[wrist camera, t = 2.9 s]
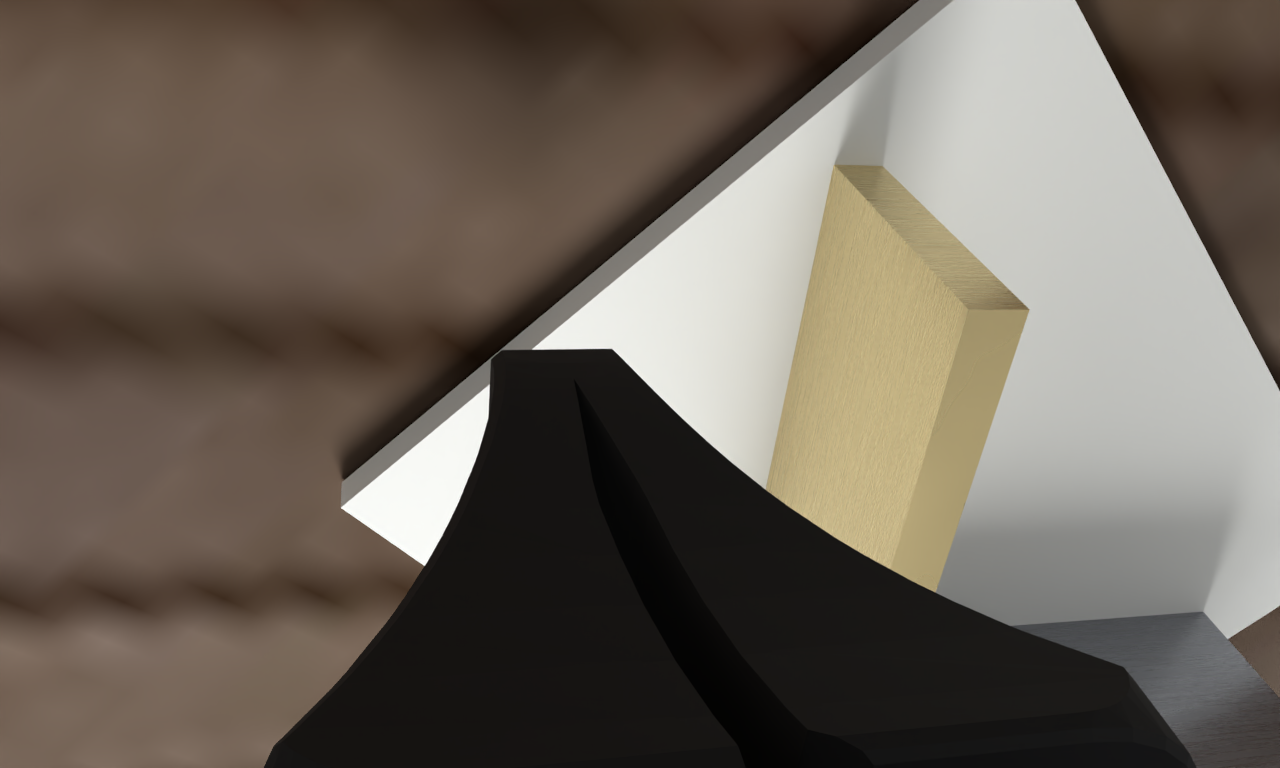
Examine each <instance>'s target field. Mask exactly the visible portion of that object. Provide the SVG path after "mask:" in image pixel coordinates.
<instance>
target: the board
mask: <svg viewBox="0 0 1280 768" xmlns="http://www.w3.org/2000/svg"><path fill="white" fill-rule="evenodd" d="M834 165H864V166H883V167H884V168H885V169H886V170H887V171H888V172H889V173H890V174H891V175H892V176H893V177H894V178H895V179H896V180H898V181H899V182H900V183H901V184H902V185H903V186H904V187H905V188H906V189H907V190H908V191H909V192H910V193H911V194H912V195H913V196H914V197H915V198H916V199H917V200H918V201H919V202H920V203H921V204H922V205H923V206H924V207H925V208H926V209H927V210H928V211H929V212H930V213H931V214H932V215H933V216H934V217H935V218H936V219H937V220H938V221H939V222H941V223H942V224H943V225H944V226H945V227H946V228H947V229H948V230H949V231H950V232H951V233H952V234H953V235H954V236H955V237H956V238H957V239H958V240H959V241H960V242H961V243H962V244H963V245H964V246H965V247H966V248H967V249H968V250H969V251H970V252H971V253H972V254H973V255H974V256H975V257H976V258H977V259H978V260H979V261H980V262H981V263H983V264H984V265H985V266H986V267H987V268H988V269H989V270H990V271H991V272H992V273H993V274H994V275H995V276H996V277H997V278H998V279H999V280H1000V281H1001V282H1002V283H1003V284H1004V285H1005V286H1006V287H1007V288H1008V289H1009V290H1010V291H1011V292H1012V293H1013V294H1014V295H1015V296H1016V297H1017V298H1018V299H1019V300H1020V301H1021V302H1022V303H1023V304H1024V305H1026V306H1027V307H1028V308H1029V309H1030V310H1029V313H1028V316H1027V319H1026V322H1025V325H1024V328H1023V331H1022V334H1021V337H1020V340H1019V343H1018V346H1017V349H1016V352H1015V355H1014V358H1013V361H1012V364H1011V367H1010V370H1009V373H1008V376H1007V379H1006V382H1005V385H1004V388H1003V391H1002V394H1001V397H1000V400H999V403H998V406H997V409H996V412H995V415H994V418H993V421H992V424H991V427H990V430H989V433H988V436H987V440H986V443H985V446H984V449H983V452H982V455H981V458H980V461H979V464H978V467H977V470H976V473H975V476H974V479H973V482H972V485H971V488H970V491H969V494H968V497H967V500H966V503H965V506H964V509H963V512H962V515H961V518H960V521H959V524H958V527H957V530H956V533H955V536H954V539H953V542H952V545H951V548H950V551H949V554H948V557H947V560H946V563H945V566H944V569H943V572H942V575H941V578H940V581H939V584H938V587H937V590H936V593H937V594H939V595H942V596H944V597H946V598H948V599H950V600H952V601H954V602H956V603H959V604H961V605H963V606H965V607H968V608H970V609H972V610H975V611H977V612H979V613H982V614H984V615H986V616H988V617H991V618H993V619H995V620H998V621H1000V622H1002V623H1004V624H1007V625H1009V626H1016V625H1029V624H1043V623H1056V622H1070V621H1083V620H1097V619H1110V618H1124V617H1137V616H1151V615H1164V614H1178V613H1191V612H1204V613H1205V614H1206V615H1207V616H1208V618H1209V619H1210V620H1211V621H1212V622H1213V623H1214V624H1215V626H1216V627H1217V628H1218V629H1219V630H1220V631H1221V632H1222V633H1223V635H1224V636H1225V637H1226V638H1227V639H1229V638H1230V637H1232V636H1233V635H1235V634H1236V633H1238V632H1240V631H1241V630H1243V629H1244V628H1246V627H1247V626H1249V625H1251V624H1252V623H1254V622H1255V621H1257V620H1258V619H1260V618H1262V617H1263V616H1265V615H1266V614H1268V613H1269V612H1271V611H1272V610H1274V609H1276V608H1277V607H1279V606H1280V391H1279V389H1278V387H1277V385H1276V383H1275V381H1274V379H1273V377H1272V375H1271V373H1270V371H1269V370H1268V368H1267V366H1266V364H1265V362H1264V360H1263V358H1262V356H1261V354H1260V352H1259V350H1258V349H1257V347H1256V345H1255V343H1254V341H1253V339H1252V337H1251V335H1250V333H1249V331H1248V329H1247V327H1246V326H1245V324H1244V322H1243V320H1242V318H1241V316H1240V314H1239V312H1238V310H1237V308H1236V306H1235V305H1234V303H1233V301H1232V299H1231V297H1230V295H1229V293H1228V291H1227V289H1226V287H1225V285H1224V284H1223V282H1222V280H1221V278H1220V276H1219V274H1218V272H1217V270H1216V268H1215V266H1214V264H1213V262H1212V261H1211V259H1210V257H1209V255H1208V253H1207V251H1206V249H1205V247H1204V245H1203V243H1202V241H1201V240H1200V238H1199V236H1198V234H1197V232H1196V230H1195V228H1194V226H1193V224H1192V222H1191V220H1190V219H1189V217H1188V215H1187V213H1186V211H1185V209H1184V207H1183V205H1182V203H1181V201H1180V199H1179V198H1178V196H1177V194H1176V192H1175V190H1174V188H1173V186H1172V184H1171V182H1170V180H1169V178H1168V176H1167V175H1166V173H1165V171H1164V169H1163V167H1162V165H1161V163H1160V161H1159V159H1158V157H1157V155H1156V154H1155V152H1154V150H1153V148H1152V146H1151V144H1150V142H1149V140H1148V138H1147V136H1146V134H1145V133H1144V131H1143V129H1142V127H1141V125H1140V123H1139V121H1138V119H1137V117H1136V115H1135V113H1134V111H1133V110H1132V108H1131V106H1130V104H1129V102H1128V100H1127V98H1126V96H1125V94H1124V92H1123V90H1122V89H1121V87H1120V85H1119V83H1118V81H1117V79H1116V77H1115V75H1114V73H1113V71H1112V69H1111V68H1110V66H1109V64H1108V62H1107V60H1106V58H1105V56H1104V54H1103V52H1102V50H1101V48H1100V47H1099V45H1098V43H1097V41H1096V39H1095V37H1094V35H1093V33H1092V31H1091V29H1090V27H1089V25H1088V24H1087V22H1086V20H1085V18H1084V16H1083V14H1082V12H1081V10H1080V8H1079V6H1078V4H1077V3H1076V1H1075V0H919V1H918V2H917V3H915V4H914V5H913V6H912V7H911V8H909V9H908V10H907V11H906V12H905V13H903V14H902V15H901V16H900V17H899V18H897V19H896V20H895V21H894V22H893V23H891V24H890V25H889V26H888V27H887V28H885V29H884V30H883V31H882V32H881V33H879V34H878V35H877V36H876V37H875V38H873V39H872V40H871V41H870V42H869V43H867V44H866V45H865V46H864V47H863V48H861V49H860V50H859V51H858V52H857V53H856V54H854V55H853V56H852V57H851V58H850V59H848V60H847V61H846V62H845V63H844V64H842V65H841V66H840V67H839V68H838V69H836V70H835V71H834V72H833V73H832V74H830V75H829V76H828V77H827V78H826V79H824V80H823V81H822V82H821V83H820V84H818V85H817V86H816V87H815V88H814V89H812V90H811V91H810V92H809V93H808V94H806V95H805V96H804V97H803V98H802V99H800V100H799V101H798V102H797V103H796V104H794V105H793V106H792V107H791V108H790V109H788V110H787V111H786V112H785V113H784V114H782V115H781V116H780V117H779V118H778V119H776V120H775V121H774V122H773V123H772V124H770V125H769V126H768V127H767V128H766V129H764V130H763V131H762V132H761V133H760V134H758V135H757V136H756V137H755V138H754V139H752V140H751V141H750V142H749V143H748V144H747V145H745V146H744V147H743V148H742V149H741V150H739V151H738V152H737V153H736V154H735V155H733V156H732V157H731V158H730V159H729V160H727V161H726V162H725V163H724V164H723V165H721V166H720V167H719V168H718V169H717V170H715V171H714V172H713V173H712V174H711V175H709V176H708V177H707V178H706V179H705V180H703V181H702V182H701V183H700V184H699V185H697V186H696V187H695V188H694V189H693V190H691V191H690V192H689V193H688V194H687V195H685V196H684V197H683V198H682V199H681V200H679V201H678V202H677V203H676V204H675V205H673V206H672V207H671V208H670V209H669V210H667V211H666V212H665V213H664V214H663V215H661V216H660V217H659V218H658V219H657V220H655V221H654V222H653V223H652V224H651V225H649V226H648V227H647V228H646V229H645V230H644V231H642V232H641V233H640V234H639V235H638V236H636V237H635V238H634V239H633V240H632V241H630V242H629V243H628V244H627V245H626V246H624V247H623V248H622V249H621V250H620V251H618V252H617V253H616V254H615V255H614V256H612V257H611V258H610V259H609V260H608V261H606V262H605V263H604V264H603V265H602V266H600V267H599V268H598V269H597V270H596V271H594V272H593V273H592V274H591V275H590V276H588V277H587V278H586V279H585V280H584V281H582V282H581V283H580V284H579V285H578V286H576V287H575V288H574V289H573V290H572V291H570V292H569V293H568V294H567V295H566V296H564V297H563V298H562V299H561V300H560V301H558V302H557V303H556V304H555V305H554V306H552V307H551V308H550V309H549V310H548V311H546V312H545V313H544V314H543V315H542V316H540V317H539V318H538V319H537V320H536V321H535V322H533V323H532V324H531V325H530V326H529V327H527V328H526V329H525V330H524V331H523V332H521V333H520V334H519V335H518V336H517V337H515V338H514V339H513V340H512V341H511V342H509V343H508V344H507V345H506V346H505V347H503V348H502V349H501V350H544V349H613V350H614V351H615V352H616V353H617V354H618V355H619V356H620V357H621V358H622V359H623V360H624V361H625V362H626V363H627V364H628V365H629V366H630V367H631V368H632V369H633V370H634V371H635V372H636V373H637V374H638V375H639V376H640V377H641V378H642V379H643V380H644V381H645V382H646V383H647V384H648V385H649V386H650V387H651V388H652V389H653V390H654V391H655V392H656V393H657V394H658V395H659V396H660V397H661V398H662V399H663V400H664V401H665V402H666V403H667V404H668V405H669V406H670V407H671V408H672V409H673V410H674V411H675V412H676V413H677V414H678V415H679V416H680V417H681V418H682V419H683V420H685V421H686V422H687V423H688V424H689V425H690V426H691V427H692V428H693V429H694V430H695V431H696V432H697V433H699V434H700V435H701V436H702V437H703V438H704V439H705V440H706V441H707V442H709V443H710V444H711V445H712V446H713V447H714V448H715V449H717V450H718V451H719V452H720V453H721V454H722V455H723V456H725V457H726V458H727V459H728V460H729V461H730V462H732V463H733V464H734V465H735V466H737V467H738V468H739V469H740V470H742V471H743V472H744V473H745V474H747V475H748V476H749V477H750V478H752V479H753V480H754V481H755V482H757V483H758V484H759V485H760V486H762V487H763V488H764V489H765V490H766V485H767V480H768V475H769V471H770V466H771V461H772V456H773V452H774V447H775V442H776V437H777V433H778V428H779V423H780V418H781V413H782V409H783V404H784V399H785V394H786V390H787V385H788V380H789V375H790V371H791V366H792V361H793V356H794V352H795V347H796V342H797V337H798V332H799V328H800V323H801V318H802V313H803V309H804V304H805V299H806V294H807V290H808V285H809V280H810V275H811V271H812V266H813V261H814V256H815V252H816V247H817V242H818V237H819V232H820V228H821V223H822V218H823V213H824V209H825V204H826V199H827V194H828V190H829V185H830V180H831V175H832V171H833V166H834ZM501 350H500V351H501ZM500 351H499V352H500ZM499 352H497V353H496V354H495V355H497V354H498V353H499ZM495 355H494V356H495ZM494 356H493V357H494ZM493 357H491V358H490V359H489V360H488V361H487V362H485V363H484V364H483V365H482V366H481V367H479V368H478V369H477V370H476V371H475V372H473V373H472V374H471V375H470V376H469V377H467V378H466V379H465V380H464V381H463V382H461V383H460V384H459V385H458V386H457V387H455V388H454V389H453V390H452V391H451V392H449V393H448V394H447V395H446V396H445V397H443V398H442V399H441V400H440V401H439V402H437V403H436V404H435V405H434V406H433V407H431V408H430V409H429V410H428V411H427V412H426V413H424V414H423V415H422V416H421V417H420V418H418V419H417V420H416V421H415V422H414V423H412V424H411V425H410V426H409V427H408V428H406V429H405V430H404V431H403V432H402V433H400V434H399V435H398V436H397V437H396V438H394V439H393V440H392V441H391V442H390V443H388V444H387V445H386V446H385V447H384V448H382V449H381V450H380V451H379V452H378V453H376V454H375V455H374V456H373V457H372V458H370V459H369V460H368V461H367V462H366V463H364V464H363V465H362V466H361V467H360V468H358V469H357V470H356V471H355V472H354V473H352V474H351V475H350V476H349V477H348V478H346V479H345V480H344V481H343V482H342V489H341V508H342V509H343V510H345V511H346V512H348V513H349V514H351V515H352V516H354V517H355V518H356V519H358V520H359V521H361V522H362V523H364V524H365V525H366V526H368V527H369V528H371V529H372V530H374V531H375V532H377V533H378V534H379V535H381V536H382V537H384V538H385V539H387V540H388V541H390V542H391V543H392V544H394V545H395V546H397V547H398V548H400V549H401V550H402V551H404V552H405V553H407V554H408V555H410V556H411V557H413V558H414V559H415V560H417V561H418V562H420V563H421V564H423V565H424V566H425V565H426V563H427V562H428V560H429V558H430V556H431V555H432V553H433V551H434V549H435V547H436V546H437V544H438V542H439V540H440V538H441V537H442V535H443V533H444V531H445V529H446V527H447V525H448V523H449V521H450V519H451V517H452V515H453V513H454V511H455V509H456V507H457V505H458V502H459V500H460V498H461V495H462V493H463V490H464V488H465V485H466V483H467V480H468V478H469V476H470V473H471V471H472V468H473V466H474V463H475V461H476V458H477V455H478V452H479V449H480V445H481V442H482V438H483V435H484V431H485V428H486V425H487V421H488V415H489V391H490V368H491V359H492V358H493Z"/></svg>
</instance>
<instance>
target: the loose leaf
mask: <svg viewBox="0 0 1280 768" xmlns="http://www.w3.org/2000/svg"><path fill="white" fill-rule="evenodd" d="M1029 310H1030V309H1029V308H1028V307H1027V306H1026V305H1024V304H1023V303H1022V302H1021V301H1020V300H1019V299H1018V298H1017V297H1016V296H1015V295H1014V294H1013V293H1012V292H1011V291H1010V290H1009V289H1008V288H1007V287H1006V286H1005V285H1004V284H1003V283H1002V282H1001V281H1000V280H999V279H998V278H997V277H996V276H995V275H994V274H993V273H992V272H991V271H990V270H989V269H988V268H987V267H986V266H985V265H984V264H983V263H981V262H980V261H979V260H978V259H977V258H976V257H975V256H974V255H973V254H972V253H971V252H970V251H969V250H968V249H967V248H966V247H965V246H964V245H963V244H962V243H961V242H960V241H959V240H958V239H957V238H956V237H955V236H954V235H953V234H952V233H951V232H950V231H949V230H948V229H947V228H946V227H945V226H944V225H943V224H942V223H941V222H939V221H938V220H937V219H936V218H935V217H934V216H933V215H932V214H931V213H930V212H929V211H928V210H927V209H926V208H925V207H924V206H923V205H922V204H921V203H920V202H919V201H918V200H917V199H916V198H915V197H914V196H913V195H912V194H911V193H910V192H909V191H908V190H907V189H906V188H905V187H904V186H903V185H902V184H901V183H900V182H899V181H898V180H896V179H895V178H894V177H893V176H892V175H891V174H890V173H889V172H888V171H887V170H886V169H885V168H884V167H883V166H864V165H834V166H833V171H832V175H831V180H830V185H829V190H828V194H827V199H826V204H825V209H824V213H823V218H822V223H821V228H820V232H819V237H818V242H817V247H816V252H815V256H814V261H813V266H812V271H811V275H810V280H809V285H808V290H807V294H806V299H805V304H804V309H803V313H802V318H801V323H800V328H799V332H798V337H797V342H796V347H795V352H794V356H793V361H792V366H791V371H790V375H789V380H788V385H787V390H786V394H785V399H784V404H783V409H782V413H781V418H780V423H779V428H778V433H777V437H776V442H775V447H774V452H773V456H772V461H771V466H770V471H769V475H768V480H767V485H766V490H767V491H768V492H769V493H771V494H772V495H773V496H775V497H776V498H777V499H779V500H780V501H782V502H783V503H784V504H786V505H787V506H788V507H790V508H791V509H793V510H794V511H796V512H797V513H799V514H800V515H802V516H803V517H805V518H806V519H808V520H809V521H811V522H812V523H814V524H815V525H817V526H818V527H820V528H821V529H823V530H824V531H826V532H827V533H829V534H830V535H832V536H833V537H835V538H837V539H838V540H840V541H841V542H843V543H845V544H846V545H848V546H850V547H852V548H853V549H855V550H857V551H858V552H860V553H862V554H863V555H865V556H867V557H869V558H871V559H872V560H874V561H876V562H878V563H880V564H882V565H883V566H885V567H887V568H889V569H891V570H893V571H894V572H896V573H898V574H900V575H902V576H904V577H906V578H907V579H909V580H911V581H913V582H915V583H917V584H919V585H921V586H923V587H925V588H927V589H929V590H931V591H933V592H935V593H936V590H937V587H938V584H939V581H940V578H941V575H942V572H943V569H944V566H945V563H946V560H947V557H948V554H949V551H950V548H951V545H952V542H953V539H954V536H955V533H956V530H957V527H958V524H959V521H960V518H961V515H962V512H963V509H964V506H965V503H966V500H967V497H968V494H969V491H970V488H971V485H972V482H973V479H974V476H975V473H976V470H977V467H978V464H979V461H980V458H981V455H982V452H983V449H984V446H985V443H986V440H987V436H988V433H989V430H990V427H991V424H992V421H993V418H994V415H995V412H996V409H997V406H998V403H999V400H1000V397H1001V394H1002V391H1003V388H1004V385H1005V382H1006V379H1007V376H1008V373H1009V370H1010V367H1011V364H1012V361H1013V358H1014V355H1015V352H1016V349H1017V346H1018V343H1019V340H1020V337H1021V334H1022V331H1023V328H1024V325H1025V322H1026V319H1027V316H1028V313H1029Z"/></svg>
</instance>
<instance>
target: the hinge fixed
mask: <svg viewBox="0 0 1280 768" xmlns="http://www.w3.org/2000/svg"><path fill="white" fill-rule="evenodd" d="M1012 627H1014V628H1017V629H1019V630H1022V631H1024V632H1027V633H1030V634H1033V635H1035V636H1038V637H1041V638H1044V639H1047V640H1049V641H1052V642H1055V643H1058V644H1061V645H1064V646H1066V647H1069V648H1072V649H1075V650H1078V651H1080V652H1083V653H1086V654H1089V655H1092V656H1094V657H1097V658H1100V659H1103V660H1106V661H1108V662H1111V663H1114V664H1117V665H1120V666H1122V667H1124V668H1125V669H1126V671H1127V672H1128V673H1129V674H1130V675H1131V677H1132V678H1133V679H1134V680H1135V681H1136V683H1137V684H1138V685H1139V687H1140V688H1141V689H1142V691H1143V692H1144V693H1145V695H1146V696H1147V697H1148V699H1149V700H1150V701H1151V703H1152V704H1153V705H1154V707H1155V708H1156V709H1157V711H1158V712H1159V713H1160V715H1161V716H1162V717H1163V719H1164V720H1165V721H1166V723H1167V724H1168V725H1169V727H1170V728H1171V729H1172V731H1173V732H1174V733H1175V735H1176V736H1177V737H1178V739H1179V740H1180V741H1181V743H1182V744H1183V745H1184V746H1185V748H1186V749H1187V750H1188V752H1189V753H1190V755H1191V757H1192V759H1193V761H1194V763H1195V765H1196V768H1280V698H1279V697H1278V696H1277V695H1276V694H1275V693H1274V691H1273V690H1272V689H1271V688H1270V687H1269V686H1268V685H1267V683H1266V682H1265V681H1264V680H1263V679H1262V678H1261V677H1260V676H1259V674H1258V673H1257V672H1256V671H1255V670H1254V669H1253V668H1252V666H1251V665H1250V664H1249V663H1248V662H1247V661H1246V660H1245V658H1244V657H1243V656H1242V655H1241V654H1240V653H1239V652H1238V651H1237V649H1236V648H1235V647H1234V646H1233V645H1232V644H1231V643H1230V641H1229V640H1228V639H1227V638H1226V637H1225V636H1224V635H1223V633H1222V632H1221V631H1220V630H1219V629H1218V628H1217V627H1216V626H1215V624H1214V623H1213V622H1212V621H1211V620H1210V619H1209V618H1208V616H1207V615H1206V614H1205V613H1204V612H1191V613H1178V614H1164V615H1151V616H1137V617H1124V618H1110V619H1097V620H1083V621H1070V622H1056V623H1043V624H1029V625H1016V626H1012Z"/></svg>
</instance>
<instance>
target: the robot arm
mask: <svg viewBox="0 0 1280 768" xmlns="http://www.w3.org/2000/svg"><path fill="white" fill-rule="evenodd" d="M264 768H1196V765H1195V763H1194V761H1193V759H1192V757H1191V755H1190V753H1189V752H1188V750H1187V749H1186V748H1185V746H1184V745H1183V744H1182V743H1181V741H1180V740H1179V739H1178V737H1177V736H1176V735H1175V733H1174V732H1173V731H1172V729H1171V728H1170V727H1169V725H1168V724H1167V723H1166V721H1165V720H1164V719H1163V717H1162V716H1161V715H1160V713H1159V712H1158V711H1157V709H1156V708H1155V707H1154V705H1153V704H1152V703H1151V701H1150V700H1149V699H1148V697H1147V696H1146V695H1145V693H1144V692H1143V691H1142V689H1141V688H1140V687H1139V685H1138V684H1137V683H1136V681H1135V680H1134V679H1133V678H1132V677H1131V675H1130V674H1129V673H1128V672H1127V671H1126V669H1125V668H1124V667H1122V666H1120V665H1117V664H1114V663H1111V662H1108V661H1106V660H1103V659H1100V658H1097V657H1094V656H1092V655H1089V654H1086V653H1083V652H1080V651H1078V650H1075V649H1072V648H1069V647H1066V646H1064V645H1061V644H1058V643H1055V642H1052V641H1049V640H1047V639H1044V638H1041V637H1038V636H1035V635H1033V634H1030V633H1027V632H1024V631H1022V630H1019V629H1017V628H1014V627H1012V626H1009V625H1007V624H1004V623H1002V622H1000V621H998V620H995V619H993V618H991V617H988V616H986V615H984V614H982V613H979V612H977V611H975V610H972V609H970V608H968V607H965V606H963V605H961V604H959V603H956V602H954V601H952V600H950V599H948V598H946V597H944V596H942V595H939V594H937V593H935V592H933V591H931V590H929V589H927V588H925V587H923V586H921V585H919V584H917V583H915V582H913V581H911V580H909V579H907V578H906V577H904V576H902V575H900V574H898V573H896V572H894V571H893V570H891V569H889V568H887V567H885V566H883V565H882V564H880V563H878V562H876V561H874V560H872V559H871V558H869V557H867V556H865V555H863V554H862V553H860V552H858V551H857V550H855V549H853V548H852V547H850V546H848V545H846V544H845V543H843V542H841V541H840V540H838V539H837V538H835V537H833V536H832V535H830V534H829V533H827V532H826V531H824V530H823V529H821V528H820V527H818V526H817V525H815V524H814V523H812V522H811V521H809V520H808V519H806V518H805V517H803V516H802V515H800V514H799V513H797V512H796V511H794V510H793V509H791V508H790V507H788V506H787V505H786V504H784V503H783V502H782V501H780V500H779V499H777V498H776V497H775V496H773V495H772V494H771V493H769V492H768V491H767V490H765V489H764V488H763V487H762V486H760V485H759V484H758V483H757V482H755V481H754V480H753V479H752V478H750V477H749V476H748V475H747V474H745V473H744V472H743V471H742V470H740V469H739V468H738V467H737V466H735V465H734V464H733V463H732V462H730V461H729V460H728V459H727V458H726V457H725V456H723V455H722V454H721V453H720V452H719V451H718V450H717V449H715V448H714V447H713V446H712V445H711V444H710V443H709V442H707V441H706V440H705V439H704V438H703V437H702V436H701V435H700V434H699V433H697V432H696V431H695V430H694V429H693V428H692V427H691V426H690V425H689V424H688V423H687V422H686V421H685V420H683V419H682V418H681V417H680V416H679V415H678V414H677V413H676V412H675V411H674V410H673V409H672V408H671V407H670V406H669V405H668V404H667V403H666V402H665V401H664V400H663V399H662V398H661V397H660V396H659V395H658V394H657V393H656V392H655V391H654V390H653V389H652V388H651V387H650V386H649V385H648V384H647V383H646V382H645V381H644V380H643V379H642V378H641V377H640V376H639V375H638V374H637V373H636V372H635V371H634V370H633V369H632V368H631V367H630V366H629V365H628V364H627V363H626V362H625V361H624V360H623V359H622V358H621V357H620V356H619V355H618V354H617V353H616V352H615V351H614V350H613V349H544V350H501V351H500V352H499V353H498V354H497V355H495V356H494V357H493V358H492V359H491V368H490V391H489V415H488V421H487V425H486V428H485V431H484V435H483V438H482V442H481V445H480V449H479V452H478V455H477V458H476V461H475V463H474V466H473V468H472V471H471V473H470V476H469V478H468V480H467V483H466V485H465V488H464V490H463V493H462V495H461V498H460V500H459V502H458V505H457V507H456V509H455V511H454V513H453V515H452V517H451V519H450V521H449V523H448V525H447V527H446V529H445V531H444V533H443V535H442V537H441V538H440V540H439V542H438V544H437V546H436V547H435V549H434V551H433V553H432V555H431V556H430V558H429V560H428V562H427V563H426V565H425V566H424V568H423V569H422V571H421V573H420V574H419V576H418V577H417V579H416V580H415V582H414V584H413V585H412V587H411V588H410V590H409V591H408V593H407V595H406V596H405V598H404V599H403V600H402V602H401V603H400V605H399V606H398V608H397V609H396V610H395V612H394V613H393V615H392V616H391V617H390V619H389V620H388V621H387V623H386V624H385V625H384V626H383V628H382V629H381V630H380V631H379V633H378V634H377V635H376V636H375V638H374V639H373V640H372V641H371V642H370V644H369V645H368V646H367V647H366V649H365V650H364V651H363V652H362V654H361V655H360V656H359V657H358V658H357V660H356V661H355V662H354V663H353V665H352V666H351V667H350V668H349V670H348V671H347V672H346V673H345V674H344V675H343V676H342V678H341V679H340V680H339V681H338V682H337V683H336V684H335V685H334V686H333V688H332V689H331V690H330V691H329V692H328V693H327V694H326V695H325V696H324V697H323V698H322V699H321V700H320V701H319V702H318V703H317V704H316V705H315V706H314V707H313V708H312V709H311V710H310V711H309V712H308V713H307V714H306V715H305V716H304V717H303V718H302V719H301V720H300V721H299V722H298V723H297V724H296V725H295V726H294V727H293V728H292V729H291V730H290V731H289V732H288V733H287V734H286V735H285V736H284V737H283V738H282V739H281V740H279V741H278V742H277V743H276V744H275V745H274V747H273V749H272V751H271V753H270V755H269V757H268V760H267V762H266V764H265V766H264Z"/></svg>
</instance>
